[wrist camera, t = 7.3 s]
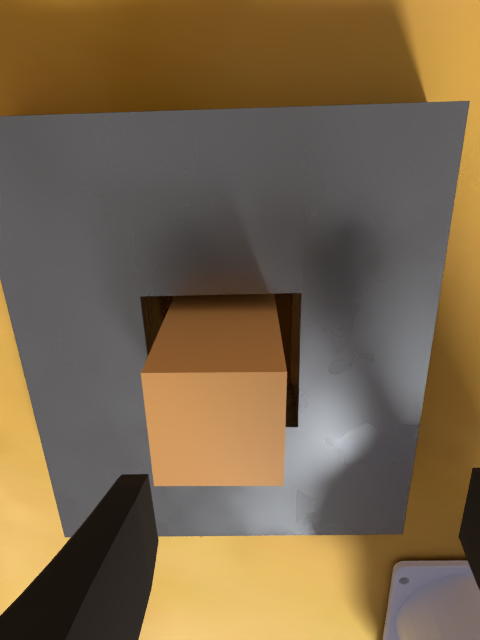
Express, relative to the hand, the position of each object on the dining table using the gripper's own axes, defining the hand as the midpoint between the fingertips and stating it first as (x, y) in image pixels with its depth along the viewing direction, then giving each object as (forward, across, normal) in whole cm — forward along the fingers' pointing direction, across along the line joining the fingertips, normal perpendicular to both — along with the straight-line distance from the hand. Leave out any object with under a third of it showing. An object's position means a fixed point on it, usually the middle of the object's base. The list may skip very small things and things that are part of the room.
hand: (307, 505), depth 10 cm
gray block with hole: (+9, +2, 0) cm, 9 cm away
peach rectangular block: (+9, +2, -1) cm, 9 cm away
